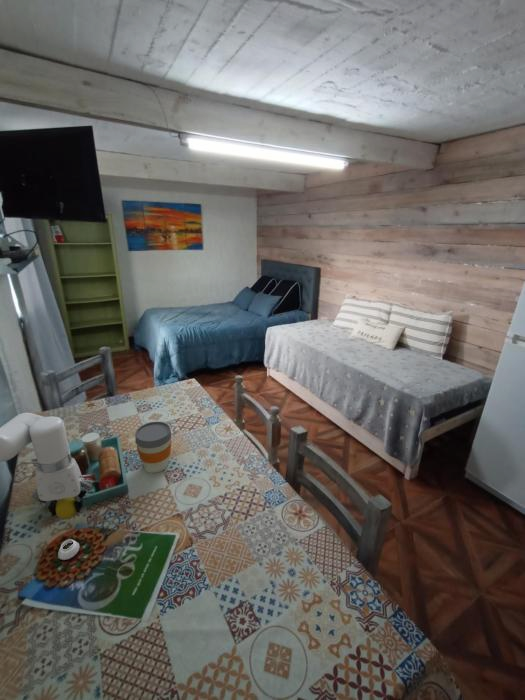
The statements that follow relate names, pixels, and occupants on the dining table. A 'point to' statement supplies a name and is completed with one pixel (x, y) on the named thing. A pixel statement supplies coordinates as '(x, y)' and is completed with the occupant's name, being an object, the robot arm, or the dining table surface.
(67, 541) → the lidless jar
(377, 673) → the dining table surface
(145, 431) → the reusable coffee cup
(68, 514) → the lemon
